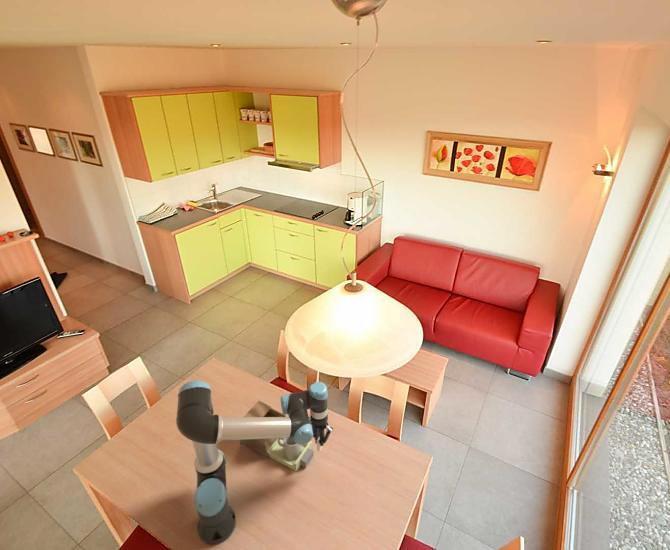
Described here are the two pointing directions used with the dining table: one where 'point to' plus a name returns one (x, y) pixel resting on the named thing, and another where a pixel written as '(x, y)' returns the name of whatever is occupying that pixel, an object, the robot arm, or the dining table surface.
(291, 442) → the mug
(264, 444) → the cubby
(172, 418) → the dining table surface
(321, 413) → the robot arm
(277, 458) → the tray
